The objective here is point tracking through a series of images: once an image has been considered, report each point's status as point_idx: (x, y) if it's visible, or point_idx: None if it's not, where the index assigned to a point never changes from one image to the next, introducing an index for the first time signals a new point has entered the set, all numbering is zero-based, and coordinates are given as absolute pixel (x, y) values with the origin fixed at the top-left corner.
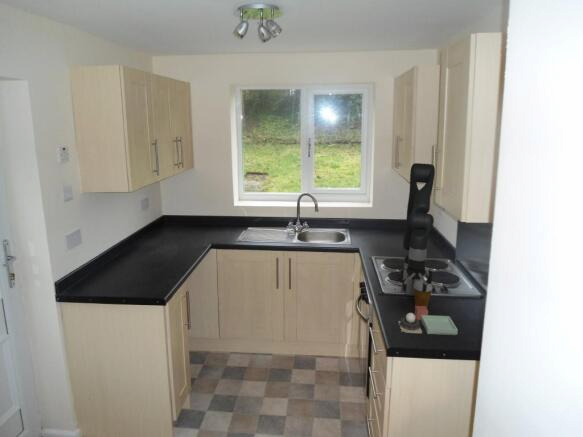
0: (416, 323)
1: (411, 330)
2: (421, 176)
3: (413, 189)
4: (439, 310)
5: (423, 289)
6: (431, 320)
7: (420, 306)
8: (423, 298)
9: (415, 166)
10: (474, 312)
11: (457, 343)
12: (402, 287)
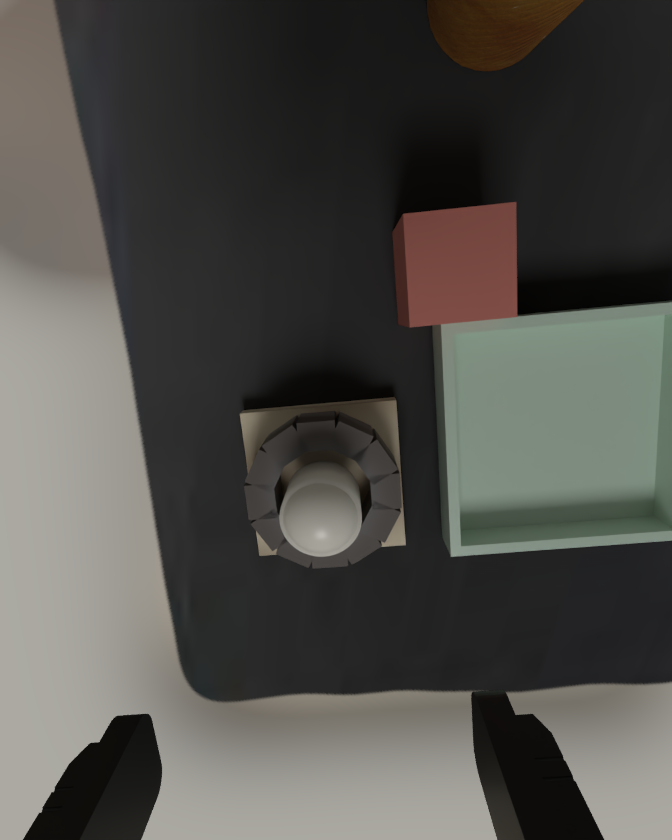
0: (369, 527)
1: None
2: None
3: None
4: (654, 75)
5: (494, 821)
6: (519, 337)
7: (456, 221)
8: (532, 16)
9: None
10: None
11: (618, 625)
12: (58, 789)
